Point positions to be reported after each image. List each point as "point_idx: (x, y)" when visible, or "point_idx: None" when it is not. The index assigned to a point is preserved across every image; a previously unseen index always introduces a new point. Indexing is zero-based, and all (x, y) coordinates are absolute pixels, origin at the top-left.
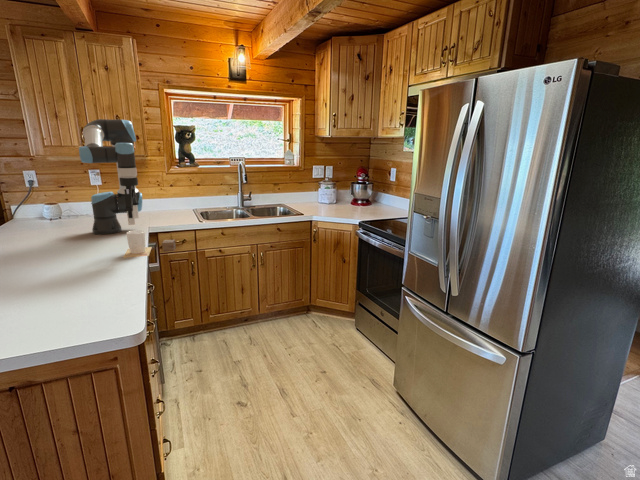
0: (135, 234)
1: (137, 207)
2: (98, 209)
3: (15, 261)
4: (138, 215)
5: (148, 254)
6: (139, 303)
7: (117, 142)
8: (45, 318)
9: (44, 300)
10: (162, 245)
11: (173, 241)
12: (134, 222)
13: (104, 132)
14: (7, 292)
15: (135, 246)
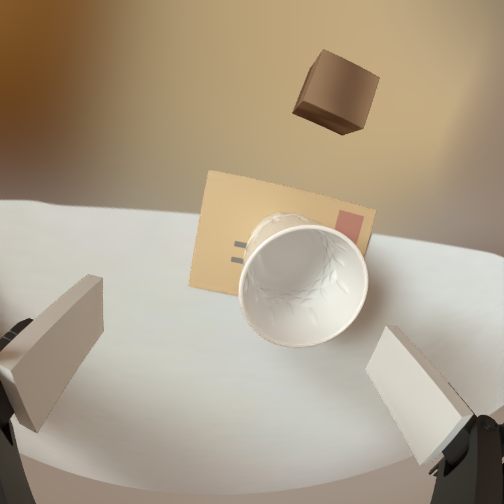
0: (364, 294)
1: (20, 342)
2: None
3: (201, 488)
4: (78, 287)
5: (356, 207)
6: None
7: None
8: None
9: (484, 399)
10: (356, 130)
11: (364, 69)
12: (405, 339)
13: None
14: (412, 455)
15: (329, 271)
